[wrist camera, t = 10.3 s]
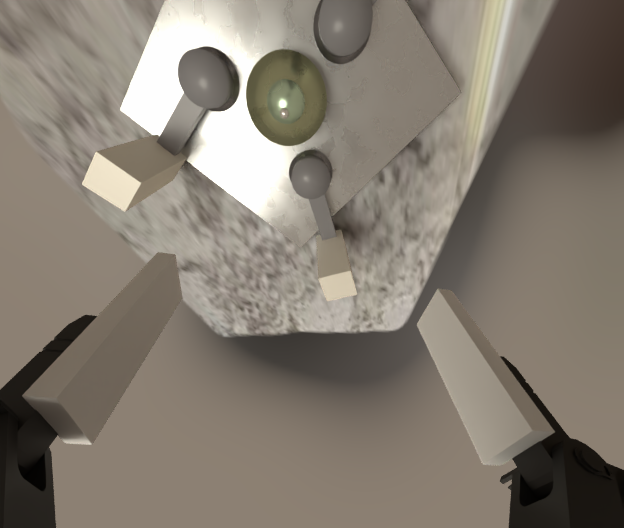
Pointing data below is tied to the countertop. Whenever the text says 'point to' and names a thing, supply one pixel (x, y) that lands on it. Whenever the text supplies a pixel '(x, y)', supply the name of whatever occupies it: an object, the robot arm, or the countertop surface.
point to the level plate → (351, 99)
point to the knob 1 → (161, 136)
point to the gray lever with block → (345, 25)
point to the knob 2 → (324, 228)
